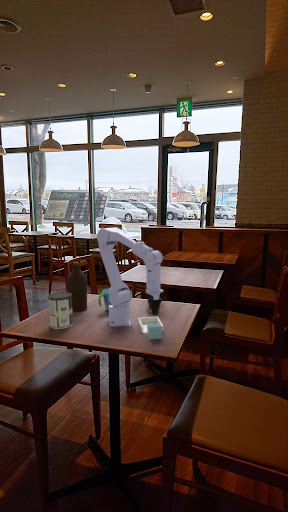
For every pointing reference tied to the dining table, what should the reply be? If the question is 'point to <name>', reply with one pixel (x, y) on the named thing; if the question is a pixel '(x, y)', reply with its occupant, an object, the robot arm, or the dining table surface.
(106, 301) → the snack cup
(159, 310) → the stack of blocks
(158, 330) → the teal block
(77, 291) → the olive oil
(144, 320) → the open box
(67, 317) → the coffee can
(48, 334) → the dining table surface
